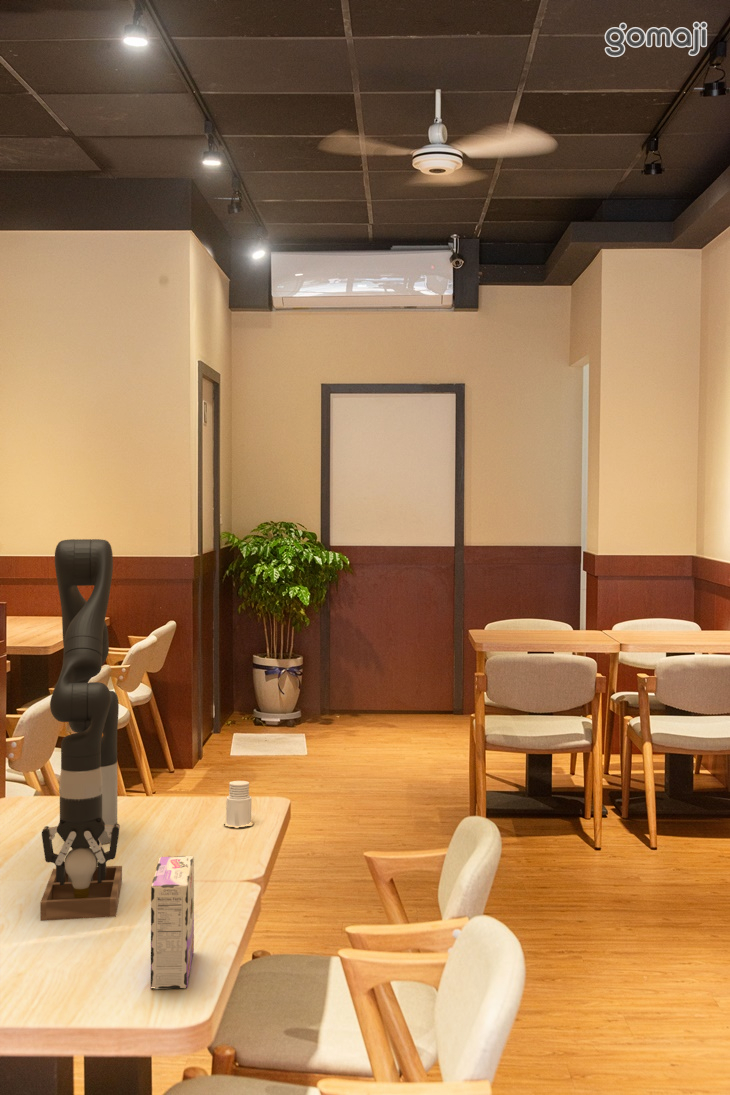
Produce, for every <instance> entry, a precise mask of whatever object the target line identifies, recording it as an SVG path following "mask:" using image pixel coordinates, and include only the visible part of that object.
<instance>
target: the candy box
mask: <svg viewBox="0 0 730 1095" xmlns="http://www.w3.org/2000/svg"><path fill="white" fill-rule="evenodd" d="M194 860H195V859H194V855H179V856H178V855H177V856H160V857H159V859H158V862H157V866H156V870H155V873H154V875H153V876H154V877H153V879H152V882H151V886H150V895H151V896H150V988H151V987H155V988H186V987H187V988H188V986H189V978H190V973H191V970H192V969H191V966H192V962H193V956H194V950H195V945H194V944H195V935H194V934H195V901H194V900H195V898H194V897H195V894H194V893H195V882H194V881H195V876H194V874H195V868H194V866H195V865H194V864H195V863H194V862H195V861H194ZM187 988H186V989H187Z"/></svg>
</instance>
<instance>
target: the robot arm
mask: <svg viewBox="0 0 730 1095" xmlns="http://www.w3.org/2000/svg"><path fill="white" fill-rule="evenodd" d="M113 556H114V555H113V548H112V546H111V543H110V542H109V541H108V540H106V539H100V538H99V539H97V538H95V539H92V538H91V539H87V538H85V539H84V538H83V539H81V538H80V539H79V538H78V539H74V538H73V539H64V540H61V541H58V543H57V545H56V547H55V550H54V569H55V575H56V583H57V588H58V594H59V601H60V608H61V623H62V626H61V629H62V644H63V656H62V657H63V658H62V667H61V671H60V672H59V676H58V680H57V682H56V684H55V686H54V689H53V691H52V694H51V696H50V701H49V709H50V713H51V715H52V717H53V718H54V720H56V721H58V722H61V723H68V725H69V728H70V730H71V731H73V732H74V733H70V734H68V735H66V736H64V737H63V738H62V740H61V744H60V757H61V758H60V760H61V761H60V775H59V787H58V794H59V822H58V825H57V826H48V825H47V826H44V827H43V829H42V831H41V838H42V840H41V841H42V846H43V853H44V860H45V862H46V863H53V864H54V865H55V869H56V880H57V882H60V885H64V884H65V867H64V862H65V858H66V856H67V854H68V853H69V852H70V850H72V849H77V848H80V847H82V848H91V849H92V851H93V853H94V854H95V855H96V857H97V859H98V865H97V867H98V883H102V880H105V877H106V866H107V862H108V861H111V860H114V859H116V855H117V850H118V843H119V836H120V828H121V827H120V826H121V825H120V824H119V823H118V726H119V725H118V724H119V708H120V707H119V706H120V705H119V697H118V695H117V693H116V692H115V691H114V690H110V689H109V687H108V685H106V684H105V683H103V682H94V681H93V682H91V681H90V680H91V679H92V678H94V677H97V676H98V675H99V674H100V672H101V671H102V667H103V665H104V664H105V662H106V660H107V659H108V656H109V652H110V651H109V650H110V648H109V644H110V643H109V629H108V625H107V623H106V616H107V610H108V605H109V600H110V593H111V586H112V580H113V571H114V558H113ZM78 586H79V587H80V586H81V587H82V586H84V587H85V586H86V587H87V586H94V587H93V590H92V592H91V594H90V595H89V598H88V599H87V600H86V599H85V598H84V596H83V594H82V593H81V592H80V590H79V587H78ZM56 834H58V836H59V837H60V838H61V839H62V840H63V845H62V846H61V848H60V851H59V852H58V854H57V853H54V848H53V846H54V845H53V840H54V838H56ZM109 843H110V844H109ZM105 844H109V850H108V851H105V850H104V847H103V846H102V845H105Z"/></svg>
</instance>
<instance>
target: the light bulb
mask: <svg viewBox="0 0 730 1095" xmlns="http://www.w3.org/2000/svg"><path fill="white" fill-rule="evenodd" d="M64 867H65V870H66V873H67V874H68V875H69V877H70V879H71V881H72V885H73V887H74V898H75V899H80V898H87V897H89V885H90V883H91V878H92V876H93V874H94V872H95V871H96V868H97V867H98V859H97V857H96V855H95V854H94V853H93V851H92V849H91V847H90V848H82V847H80V848H77V849H72V848H71V849H70V850H69V851H68V853H67V855H66V856H65V858H64Z"/></svg>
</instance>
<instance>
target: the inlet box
mask: <svg viewBox="0 0 730 1095" xmlns="http://www.w3.org/2000/svg"><path fill="white" fill-rule="evenodd" d="M122 884H123V866H122V865H110V866H109V865H108V866H107V865H106V877H105V880H102V883H98V866H97V868H96V871H95V872H94V874H93V881H91V883H90V885H89V897H87V898H80V899H75V898H74V887H73V885H72V882H68V874H67V873H66V870H65V884H64V885H60V882H57V880H56V868H52V870H51V873H50V876H49V879H48V882H47V884H46V886H45V890H44V891H43V892H44V893H43V895H42V897H41V900H40V903H39V904H40V905H39V906H40V909H39V910H40V917H39V918H40V921H60V920H61V921H62V920H76V919H96V918H97V919H98V918H99V919H100V918H112V917H113V918H116V916H117V912H118V906H119V901H120V895H121V889H122Z"/></svg>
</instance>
